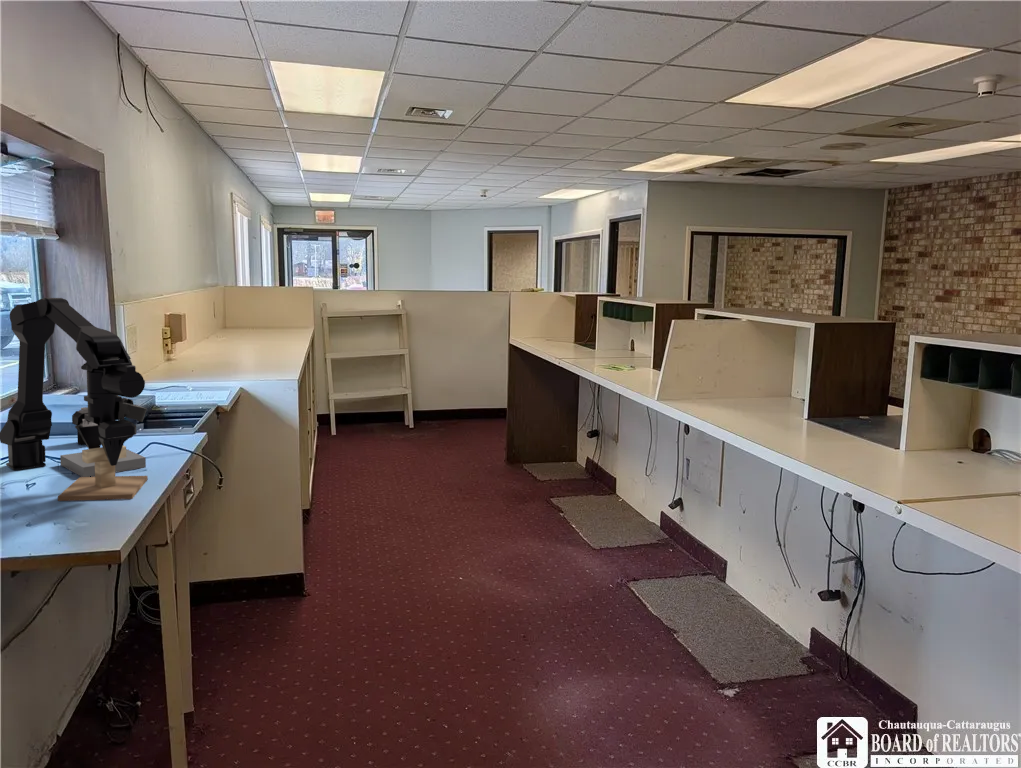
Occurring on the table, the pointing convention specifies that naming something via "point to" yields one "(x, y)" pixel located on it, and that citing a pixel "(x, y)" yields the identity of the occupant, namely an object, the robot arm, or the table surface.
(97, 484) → the t key
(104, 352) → the robot arm
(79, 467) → the keyhole plate
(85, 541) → the table surface
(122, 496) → the walnut pad
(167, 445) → the table surface
